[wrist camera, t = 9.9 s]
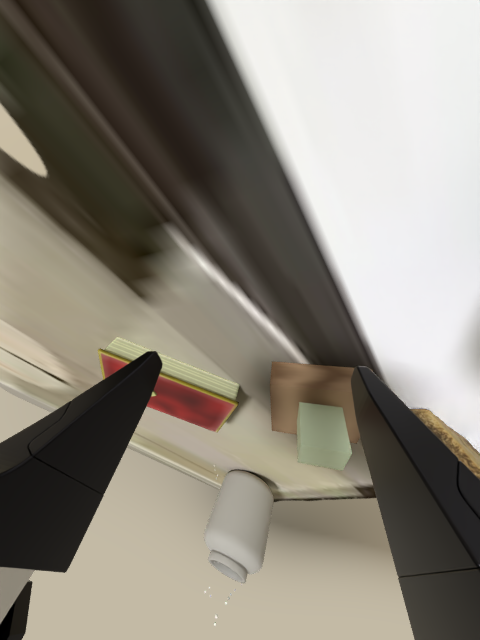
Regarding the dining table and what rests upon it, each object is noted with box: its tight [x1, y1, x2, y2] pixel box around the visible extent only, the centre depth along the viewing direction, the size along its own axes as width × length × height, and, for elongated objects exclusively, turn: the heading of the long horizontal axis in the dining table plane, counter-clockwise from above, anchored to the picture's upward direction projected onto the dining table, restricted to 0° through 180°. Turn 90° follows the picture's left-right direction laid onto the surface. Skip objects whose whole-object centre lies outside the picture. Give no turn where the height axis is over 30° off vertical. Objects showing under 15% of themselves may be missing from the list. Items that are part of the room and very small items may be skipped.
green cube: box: [297, 402, 352, 471], centre depth 24 cm, size 5×5×5 cm
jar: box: [204, 465, 273, 626], centre depth 49 cm, size 19×15×25 cm
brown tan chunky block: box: [410, 409, 480, 479], centre depth 26 cm, size 11×9×10 cm
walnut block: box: [270, 362, 372, 444], centre depth 28 cm, size 12×12×4 cm
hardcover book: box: [98, 337, 239, 432], centre depth 33 cm, size 12×21×4 cm, turn 70°
